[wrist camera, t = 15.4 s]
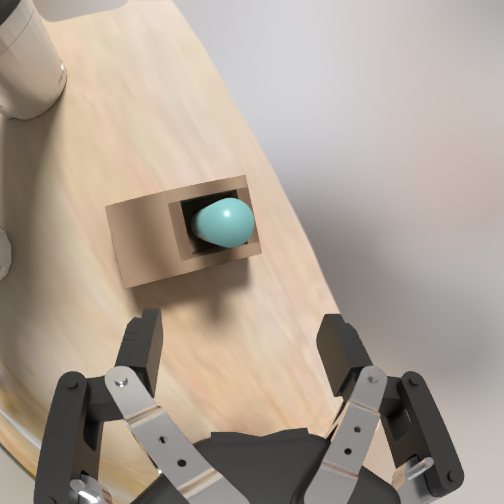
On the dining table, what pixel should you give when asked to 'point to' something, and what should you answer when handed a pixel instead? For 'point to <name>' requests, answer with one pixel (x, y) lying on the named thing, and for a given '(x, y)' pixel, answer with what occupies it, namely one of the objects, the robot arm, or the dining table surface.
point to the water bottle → (4, 254)
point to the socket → (170, 233)
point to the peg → (224, 223)
